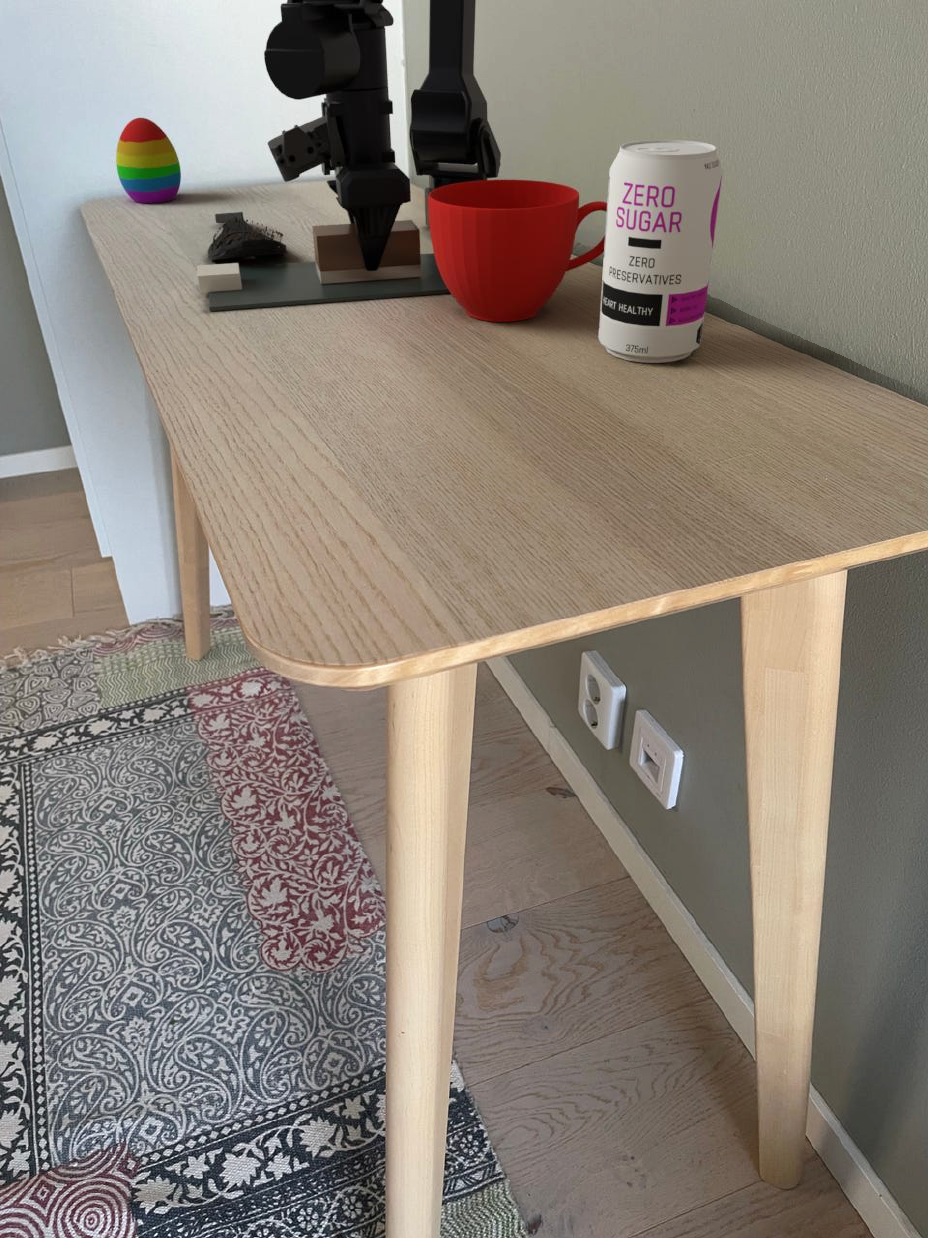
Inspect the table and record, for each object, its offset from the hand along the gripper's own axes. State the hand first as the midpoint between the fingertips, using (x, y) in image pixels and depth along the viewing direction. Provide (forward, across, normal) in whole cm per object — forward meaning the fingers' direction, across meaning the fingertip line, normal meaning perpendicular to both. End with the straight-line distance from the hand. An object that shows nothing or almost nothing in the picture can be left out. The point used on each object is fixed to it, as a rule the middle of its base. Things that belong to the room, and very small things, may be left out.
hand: (368, 264), depth 97 cm
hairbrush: (+2, -18, -12) cm, 22 cm away
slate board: (+2, 0, -4) cm, 4 cm away
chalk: (+1, 0, -15) cm, 15 cm away
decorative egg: (+2, -48, -23) cm, 53 cm away
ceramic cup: (+2, +14, +12) cm, 19 cm away
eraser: (+1, 0, 0) cm, 1 cm away
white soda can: (+2, +27, +19) cm, 33 cm away
